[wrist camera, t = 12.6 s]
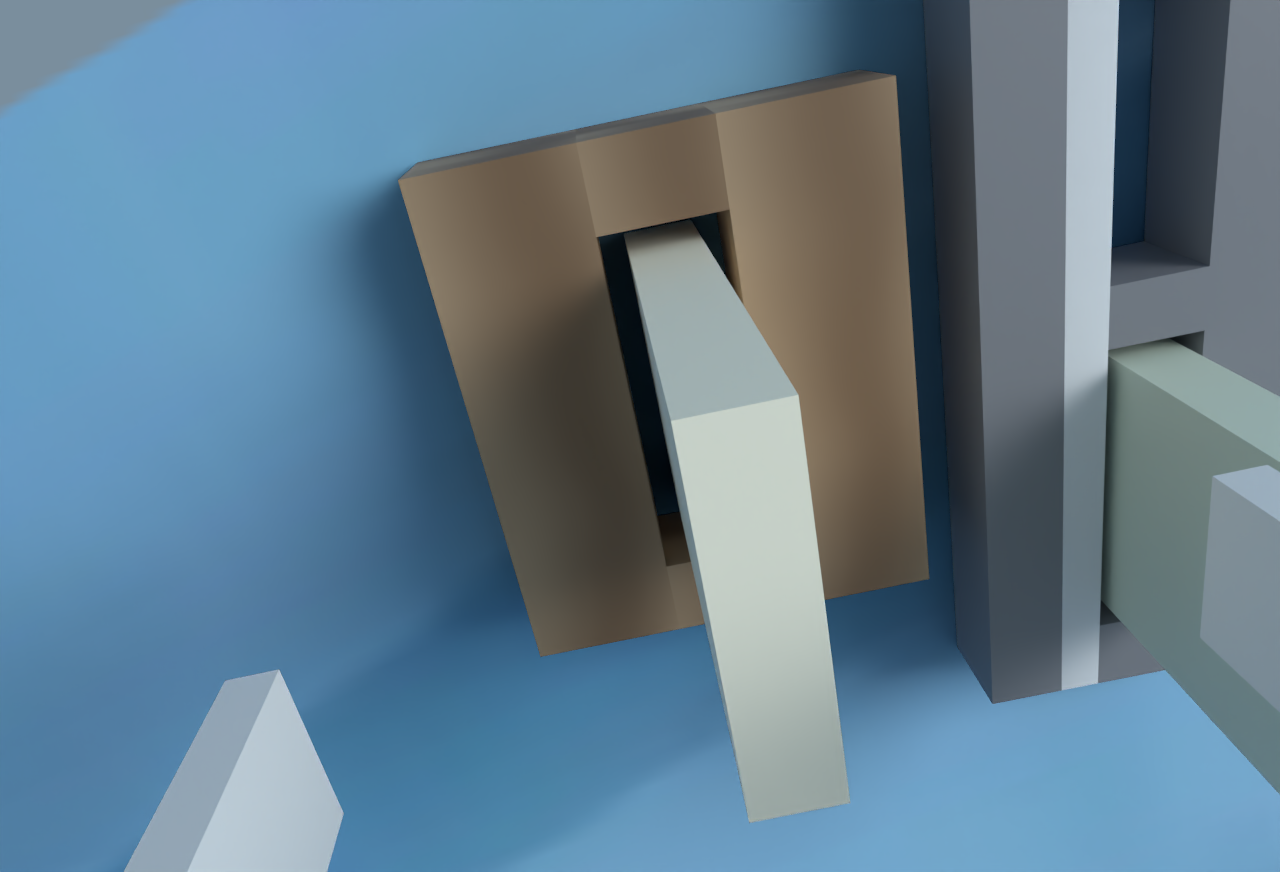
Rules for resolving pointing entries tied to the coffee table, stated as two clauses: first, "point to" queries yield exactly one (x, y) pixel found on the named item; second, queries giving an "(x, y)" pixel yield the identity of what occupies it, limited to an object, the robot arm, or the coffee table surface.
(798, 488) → the pale green slab
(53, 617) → the coffee table surface
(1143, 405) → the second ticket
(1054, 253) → the grey slotted plate
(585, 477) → the frame
